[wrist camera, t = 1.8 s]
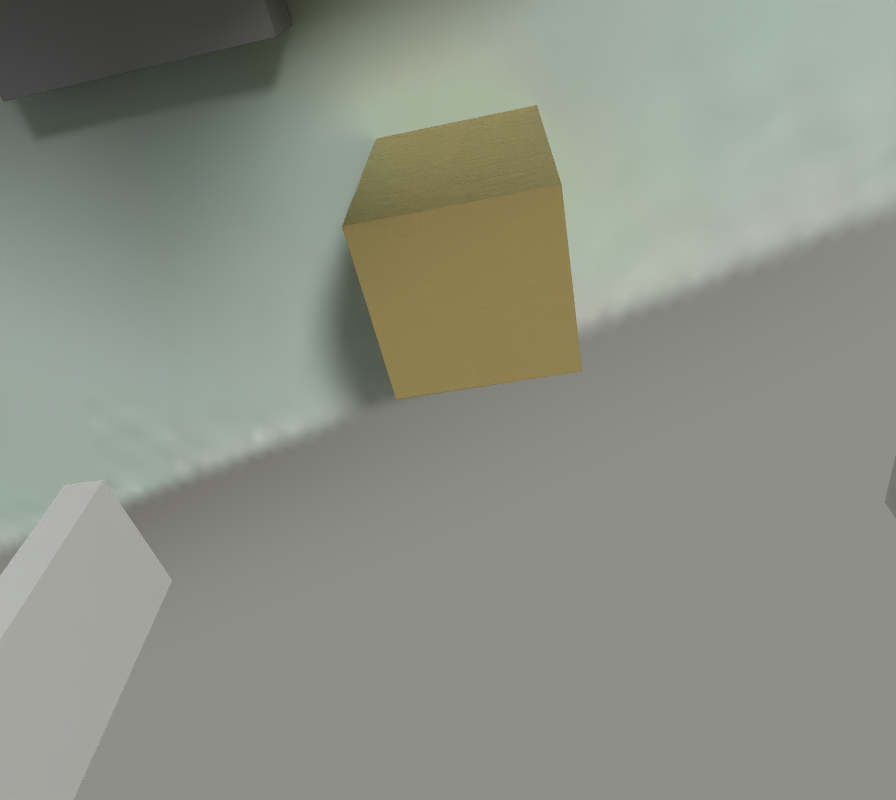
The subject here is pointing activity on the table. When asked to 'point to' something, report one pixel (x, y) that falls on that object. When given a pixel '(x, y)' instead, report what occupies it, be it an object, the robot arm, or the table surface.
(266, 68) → the table surface
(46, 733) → the robot arm
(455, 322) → the tan rectangular block
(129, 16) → the dark grey block
